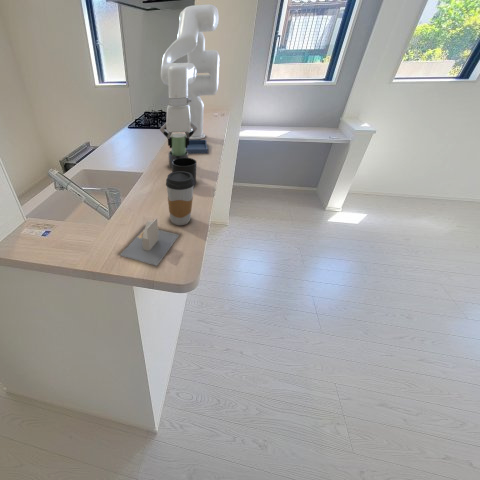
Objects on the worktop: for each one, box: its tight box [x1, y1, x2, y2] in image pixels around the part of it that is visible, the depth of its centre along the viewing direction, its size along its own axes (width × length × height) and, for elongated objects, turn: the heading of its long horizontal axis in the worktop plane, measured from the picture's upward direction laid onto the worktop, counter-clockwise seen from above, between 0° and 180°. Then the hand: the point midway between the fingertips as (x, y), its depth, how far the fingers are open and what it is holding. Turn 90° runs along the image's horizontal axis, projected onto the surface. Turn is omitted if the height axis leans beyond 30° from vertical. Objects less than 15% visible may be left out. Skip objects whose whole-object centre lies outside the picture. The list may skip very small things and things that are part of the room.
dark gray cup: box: [168, 150, 189, 170], centre depth 121 cm, size 9×9×6 cm
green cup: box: [170, 132, 186, 156], centre depth 118 cm, size 6×6×12 cm
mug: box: [171, 157, 197, 186], centre depth 106 cm, size 9×12×9 cm
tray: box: [186, 139, 209, 155], centre depth 141 cm, size 16×14×2 cm
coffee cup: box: [165, 171, 195, 226], centre depth 81 cm, size 8×8×15 cm
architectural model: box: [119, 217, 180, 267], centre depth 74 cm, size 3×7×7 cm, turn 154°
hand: (178, 146), depth 117 cm, fingers closed on green cup, 6 cm apart
